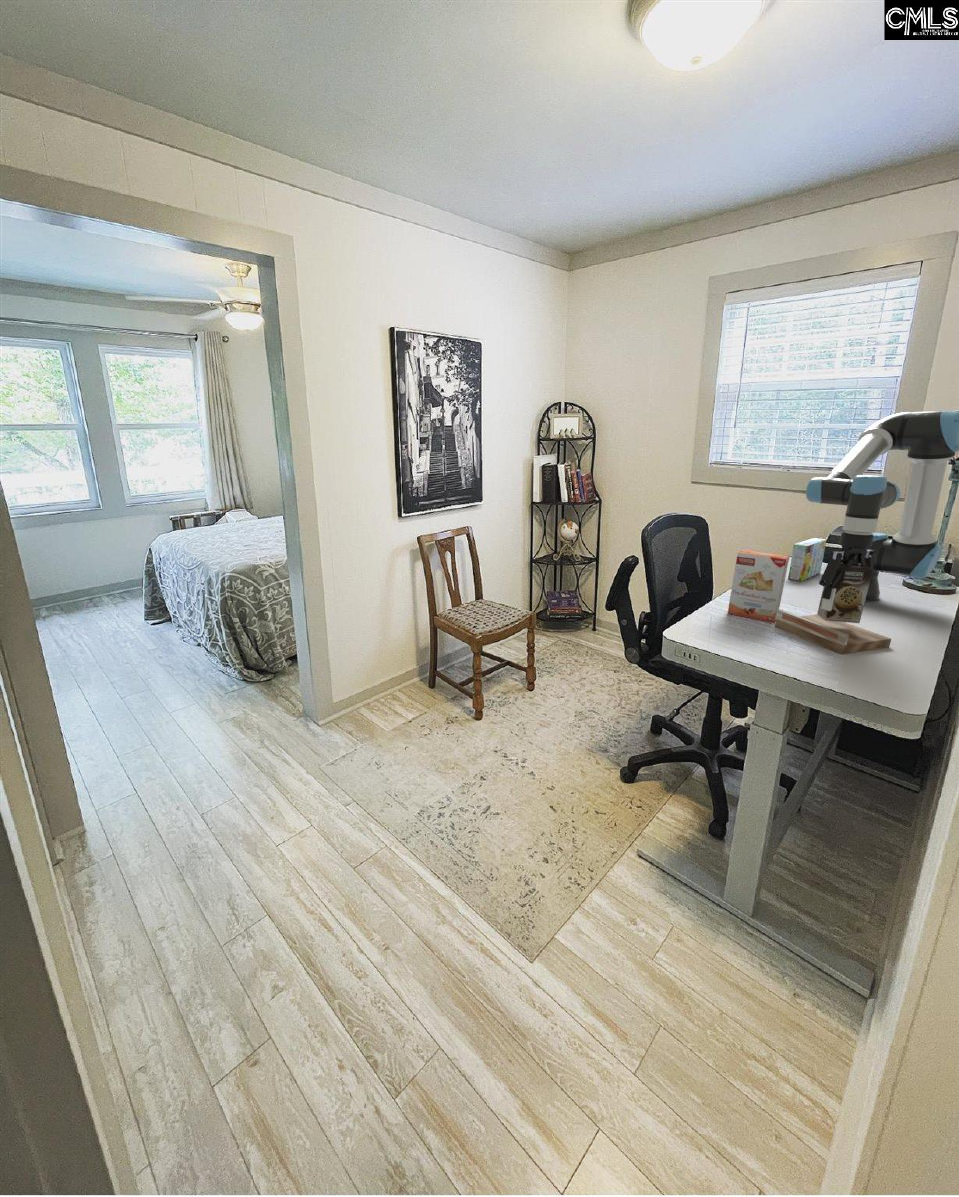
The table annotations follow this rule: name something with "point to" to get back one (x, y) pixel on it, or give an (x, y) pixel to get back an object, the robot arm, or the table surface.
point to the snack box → (807, 559)
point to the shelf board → (831, 633)
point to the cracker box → (758, 585)
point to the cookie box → (848, 595)
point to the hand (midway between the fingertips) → (840, 607)
